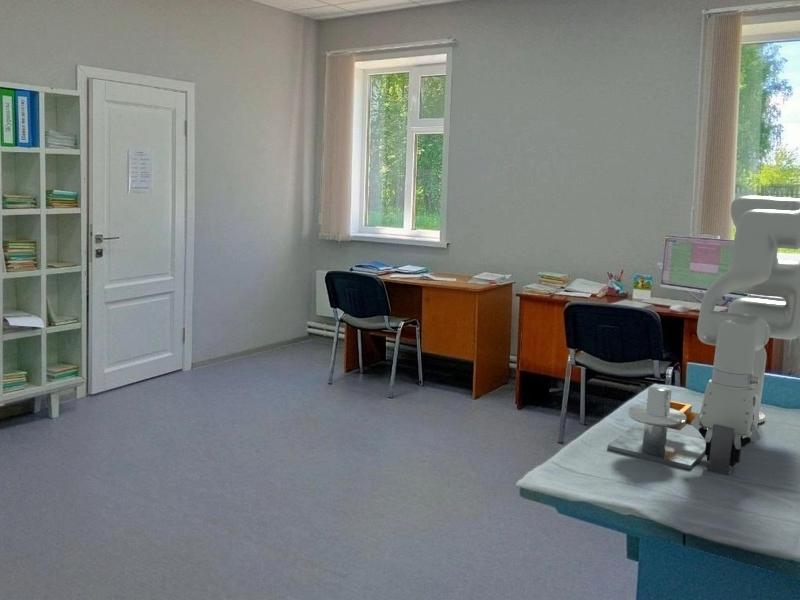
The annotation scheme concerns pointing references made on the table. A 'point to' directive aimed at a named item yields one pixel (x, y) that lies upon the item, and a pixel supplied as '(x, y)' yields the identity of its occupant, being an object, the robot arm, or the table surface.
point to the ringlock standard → (661, 432)
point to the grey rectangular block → (721, 450)
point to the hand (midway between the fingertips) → (721, 461)
